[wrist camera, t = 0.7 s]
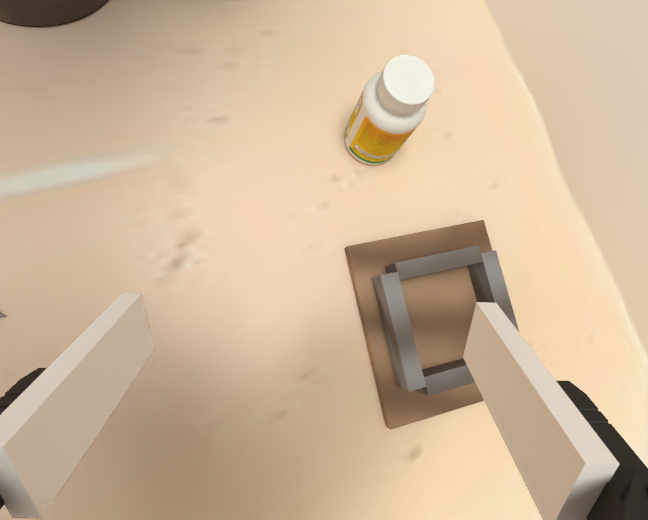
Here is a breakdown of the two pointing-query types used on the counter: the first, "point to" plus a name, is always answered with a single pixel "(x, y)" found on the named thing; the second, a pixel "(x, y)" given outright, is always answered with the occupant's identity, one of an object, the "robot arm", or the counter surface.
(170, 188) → the counter surface
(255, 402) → the counter surface
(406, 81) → the supplement bottle
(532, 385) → the robot arm
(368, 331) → the collar board
